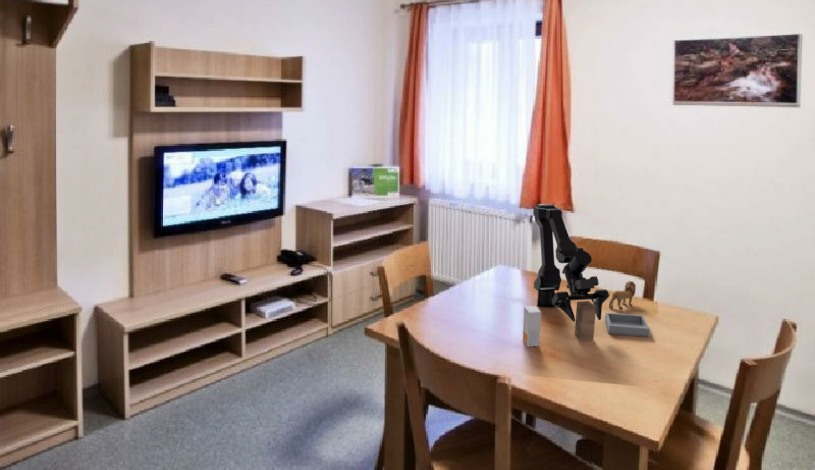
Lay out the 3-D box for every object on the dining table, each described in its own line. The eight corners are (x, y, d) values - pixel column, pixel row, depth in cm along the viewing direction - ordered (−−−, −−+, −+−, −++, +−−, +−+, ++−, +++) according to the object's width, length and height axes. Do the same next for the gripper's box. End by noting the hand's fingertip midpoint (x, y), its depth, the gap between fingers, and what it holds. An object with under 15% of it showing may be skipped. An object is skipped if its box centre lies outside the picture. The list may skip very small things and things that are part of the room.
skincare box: (522, 339, 207) (523, 305, 204) (534, 339, 207) (536, 305, 204) (527, 347, 201) (528, 312, 198) (539, 346, 201) (541, 312, 198)
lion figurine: (625, 300, 246) (627, 278, 244) (637, 303, 242) (639, 281, 240) (605, 308, 237) (607, 286, 235) (618, 312, 233) (619, 289, 231)
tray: (608, 333, 212) (609, 325, 211) (604, 320, 224) (605, 312, 224) (648, 337, 209) (649, 328, 209) (642, 323, 222) (643, 315, 221)
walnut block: (574, 335, 211) (576, 301, 208) (586, 334, 212) (589, 301, 209) (581, 340, 206) (583, 306, 203) (593, 339, 207) (596, 305, 204)
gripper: (557, 269, 206) (569, 311, 198) (609, 266, 209) (623, 308, 201) (546, 284, 215) (557, 325, 207) (596, 281, 218) (609, 322, 210)
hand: (587, 320), depth 206 cm, fingers open, 9 cm apart
